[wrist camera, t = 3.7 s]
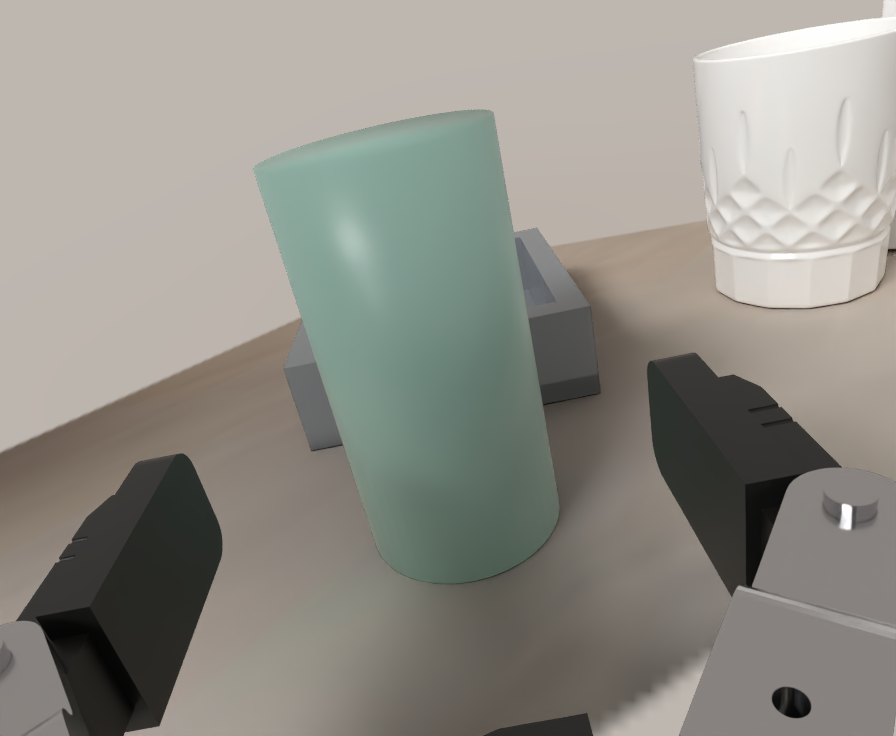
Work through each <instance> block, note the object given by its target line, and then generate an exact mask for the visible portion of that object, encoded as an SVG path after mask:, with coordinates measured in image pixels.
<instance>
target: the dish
mask: <svg viewBox="0 0 896 736" xmlns="http://www.w3.org/2000/svg"><path fill="white" fill-rule="evenodd" d="M514 237H515V243H516V249H517V255H518V261H519V267H520V273H521V279H522V285H523V291H524V297H525V302H526V308H527V314H528V320H529V326H530V332H531V338H532V344H533V350H534V356H535V362H536V368H537V374H538V380H539V386H540V392H541V397H542V403H543V404H547V403H552V402H557V401H562V400H567V399H572V398H577V397H582V396H587V395H592V394H597V393H600V384H599V375H598V366H597V358H596V349H595V340H594V332H593V323H592V314H591V306H590V304H589V303H588V301H587V300H586V298H585V297H584V295H583V294H582V293H581V291H580V290H579V288H578V287H577V285H576V284H575V282H574V281H573V279H572V278H571V277H570V275H569V274H568V272H567V271H566V269H565V268H564V266H563V265H562V263H561V262H560V261H559V259H558V258H557V256H556V255H555V253H554V252H553V250H552V249H551V247H550V246H549V245H548V243H547V242H546V240H545V239H544V237H543V236H542V234H541V233H540V232H539V230H538V228H533V229H528V230H524V231H519V232H514ZM283 369H284V372H285V375H286V378H287V381H288V384H289V387H290V390H291V393H292V395H293V398H294V401H295V404H296V407H297V410H298V413H299V416H300V419H301V422H302V425H303V428H304V430H305V433H306V436H307V439H308V442H309V445H310V448H311V451H312V450H317V449H322V448H327V447H332V446H337V445H342V444H343V443H342V440H341V437H340V434H339V431H338V428H337V424H336V421H335V418H334V415H333V412H332V409H331V406H330V403H329V400H328V397H327V394H326V391H325V388H324V385H323V382H322V379H321V376H320V373H319V370H318V366H317V363H316V360H315V357H314V354H313V351H312V348H311V345H310V342H309V339H308V336H307V333H306V330H305V327H304V324H303V321H302V322H301V324H300V327H299V329H298V332H297V335H296V337H295V340H294V342H293V345H292V348H291V350H290V353H289V355H288V358H287V361H286V363H285V366H284V368H283Z"/></svg>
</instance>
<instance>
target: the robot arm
mask: <svg viewBox="0 0 896 736" xmlns="http://www.w3.org/2000/svg"><path fill="white" fill-rule="evenodd" d="M647 378H648V391H649V404H650V417H651V429H652V441H653V448H654V453H655V457H656V460H657V464H658V467H659V469H660V472H661V474H662V476H663V478H664V480H665V482H666V483H667V485H668V487H669V488H670V490H671V492H672V494H673V495H674V497H675V499H676V501H677V502H678V504H679V506H680V508H681V509H682V511H683V513H684V515H685V516H686V518H687V520H688V522H689V523H690V525H691V527H692V529H693V530H694V532H695V534H696V536H697V537H698V539H699V541H700V543H701V544H702V546H703V548H704V550H705V551H706V553H707V555H708V557H709V558H710V560H711V562H712V563H713V565H714V567H715V569H716V570H717V572H718V574H719V576H720V577H721V579H722V581H723V583H724V584H725V586H726V588H727V590H728V591H729V593H730V595H731V597H732V599H731V601H730V604H729V606H728V609H727V611H726V614H725V617H724V619H723V622H722V624H721V627H720V630H719V632H718V635H717V638H716V640H715V643H714V645H713V648H712V651H711V653H710V656H709V658H708V661H707V664H706V666H705V669H704V671H703V674H702V677H701V679H700V682H699V685H698V687H697V690H696V692H695V695H694V698H693V700H692V703H691V705H690V708H689V711H688V714H687V716H686V718H685V721H684V724H683V726H682V729H681V732H680V734H679V736H893V732H894V724H895V716H896V482H894V481H892V480H890V479H888V478H886V477H884V476H881V475H878V474H875V473H872V472H868V471H864V470H859V469H852V468H842V467H841V466H840V465H839V464H838V463H837V462H836V461H835V460H834V459H833V458H832V457H831V456H830V455H829V454H828V453H827V452H826V451H825V450H824V449H823V448H822V447H821V446H820V445H819V444H818V443H817V442H816V441H815V440H814V439H813V438H812V437H811V436H810V435H809V434H808V433H807V432H806V431H805V430H804V429H803V428H802V427H801V426H800V425H799V424H798V423H797V422H793V420H792V417H791V416H790V415H789V414H788V413H787V412H786V411H785V410H784V409H783V408H782V407H779V406H778V403H777V402H776V401H775V400H774V399H773V398H772V397H771V396H770V395H769V394H768V393H767V392H766V391H765V390H764V389H763V388H762V387H760V386H758V385H756V384H754V383H751V382H749V381H747V380H745V379H742V378H740V377H738V376H736V375H729V376H724V377H719V378H718V377H717V376H716V374H715V373H714V372H713V371H712V370H711V369H710V368H709V367H708V366H707V364H706V363H705V362H704V361H703V360H702V359H701V358H700V357H699V356H698V355H697V354H696V353H689V354H684V355H679V356H674V357H669V358H664V359H659V360H654V361H650V362H649V363H648V368H647ZM221 556H222V534H221V529H220V526H219V523H218V520H217V518H216V516H215V514H214V511H213V509H212V507H211V505H210V502H209V500H208V498H207V495H206V493H205V491H204V489H203V486H202V484H201V482H200V479H199V477H198V475H197V473H196V470H195V468H194V466H193V464H192V462H191V460H190V459H189V458H188V457H187V456H186V455H185V454H175V455H170V456H165V457H160V458H155V459H150V460H145V461H140V462H138V463H136V464H135V465H134V467H133V468H132V470H131V471H130V473H129V474H128V476H127V477H126V479H125V480H124V482H123V483H122V485H121V486H120V488H119V490H118V491H117V493H116V494H115V495H113V496H111V497H110V498H108V499H107V500H106V501H105V502H104V503H103V504H102V505H100V506H99V507H98V508H97V509H96V510H95V511H93V512H92V513H91V514H90V515H89V516H88V517H87V518H86V519H85V521H84V522H83V524H82V525H81V527H80V528H79V530H78V531H77V532H76V534H75V535H74V537H73V538H72V543H71V544H68V546H67V547H66V549H65V550H64V552H63V553H62V554H61V556H60V557H59V559H60V562H57V563H55V565H54V566H53V568H52V569H51V571H50V572H49V574H48V575H47V576H46V578H45V579H44V581H43V582H42V584H41V585H40V587H39V588H38V590H37V591H36V593H35V594H34V596H33V597H32V599H31V600H30V601H29V603H28V604H27V606H26V607H25V609H24V610H23V612H22V613H21V615H20V616H19V618H18V619H17V621H16V622H11V623H7V624H4V625H1V626H0V736H123V735H124V733H125V732H129V731H135V730H140V729H146V728H151V727H157V726H160V723H161V720H162V717H163V715H164V712H165V709H166V707H167V704H168V701H169V698H170V696H171V693H172V690H173V688H174V685H175V682H176V679H177V677H178V674H179V671H180V669H181V666H182V663H183V660H184V658H185V655H186V652H187V650H188V647H189V644H190V641H191V639H192V636H193V633H194V631H195V628H196V625H197V622H198V620H199V617H200V614H201V612H202V609H203V606H204V603H205V601H206V598H207V595H208V593H209V590H210V587H211V584H212V582H213V579H214V576H215V574H216V571H217V568H218V565H219V563H220V560H221ZM484 736H593V734H592V730H591V726H590V722H589V718H588V715H587V713H586V714H580V715H575V716H569V717H563V718H558V719H552V720H546V721H541V722H535V723H529V724H524V725H518V726H512V727H507V728H501V729H498V730H495V731H493V732H491V733H488V734H486V735H484Z"/></svg>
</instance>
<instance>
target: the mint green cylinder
mask: <svg viewBox="0 0 896 736" xmlns="http://www.w3.org/2000/svg"><path fill="white" fill-rule="evenodd" d="M253 171H254V174H255V177H256V180H257V183H258V186H259V189H260V192H261V195H262V199H263V202H264V205H265V208H266V211H267V214H268V217H269V220H270V223H271V226H272V229H273V232H274V235H275V238H276V241H277V244H278V247H279V250H280V253H281V257H282V259H283V263H284V266H285V269H286V272H287V275H288V278H289V281H290V284H291V287H292V290H293V293H294V296H295V299H296V302H297V305H298V308H299V311H300V315H301V318H302V321H303V324H304V327H305V330H306V333H307V336H308V339H309V342H310V345H311V348H312V351H313V354H314V357H315V360H316V363H317V366H318V370H319V373H320V376H321V379H322V382H323V385H324V388H325V391H326V394H327V397H328V400H329V403H330V406H331V409H332V412H333V415H334V418H335V421H336V424H337V428H338V431H339V434H340V437H341V440H342V443H343V446H344V449H345V452H346V455H347V458H348V461H349V464H350V467H351V470H352V473H353V476H354V479H355V482H356V486H357V489H358V492H359V495H360V498H361V501H362V504H363V507H364V510H365V513H366V516H367V519H368V522H369V525H370V528H371V531H372V534H373V537H374V540H375V544H376V547H377V549H378V551H379V553H380V555H381V557H382V558H383V559H384V561H385V562H386V563H387V564H388V565H389V566H390V567H391V568H393V569H394V570H396V571H397V572H399V573H400V574H402V575H405V576H407V577H409V578H412V579H416V580H419V581H423V582H429V583H439V584H454V583H465V582H472V581H477V580H481V579H485V578H488V577H491V576H494V575H497V574H500V573H502V572H504V571H507V570H509V569H511V568H513V567H515V566H516V565H518V564H520V563H521V562H523V561H525V560H526V559H527V558H529V557H530V556H531V555H533V554H534V553H535V552H536V551H537V550H538V549H539V548H540V547H541V546H542V545H543V544H544V543H545V542H546V541H547V539H548V538H549V537H550V535H551V533H552V532H553V530H554V528H555V526H556V523H557V521H558V516H559V498H558V492H557V487H556V481H555V475H554V469H553V463H552V457H551V451H550V445H549V439H548V433H547V427H546V421H545V415H544V409H543V403H542V397H541V392H540V386H539V380H538V374H537V368H536V362H535V356H534V350H533V344H532V338H531V332H530V326H529V320H528V314H527V308H526V302H525V297H524V291H523V285H522V279H521V273H520V267H519V261H518V255H517V249H516V243H515V237H514V231H513V225H512V220H511V214H510V208H509V202H508V196H507V190H506V184H505V178H504V173H503V166H502V160H501V154H500V148H499V142H498V137H497V130H496V124H495V119H494V113H493V112H492V111H490V110H464V111H454V112H447V113H440V114H433V115H427V116H422V117H416V118H411V119H406V120H401V121H396V122H391V123H386V124H382V125H377V126H373V127H369V128H365V129H361V130H357V131H353V132H349V133H345V134H341V135H338V136H334V137H330V138H327V139H323V140H320V141H317V142H313V143H310V144H307V145H304V146H300V147H297V148H295V149H292V150H289V151H286V152H283V153H281V154H278V155H276V156H273V157H271V158H269V159H267V160H264V161H262V162H261V163H259V164H258V165H256V166H255V167H254V168H253Z"/></svg>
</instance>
